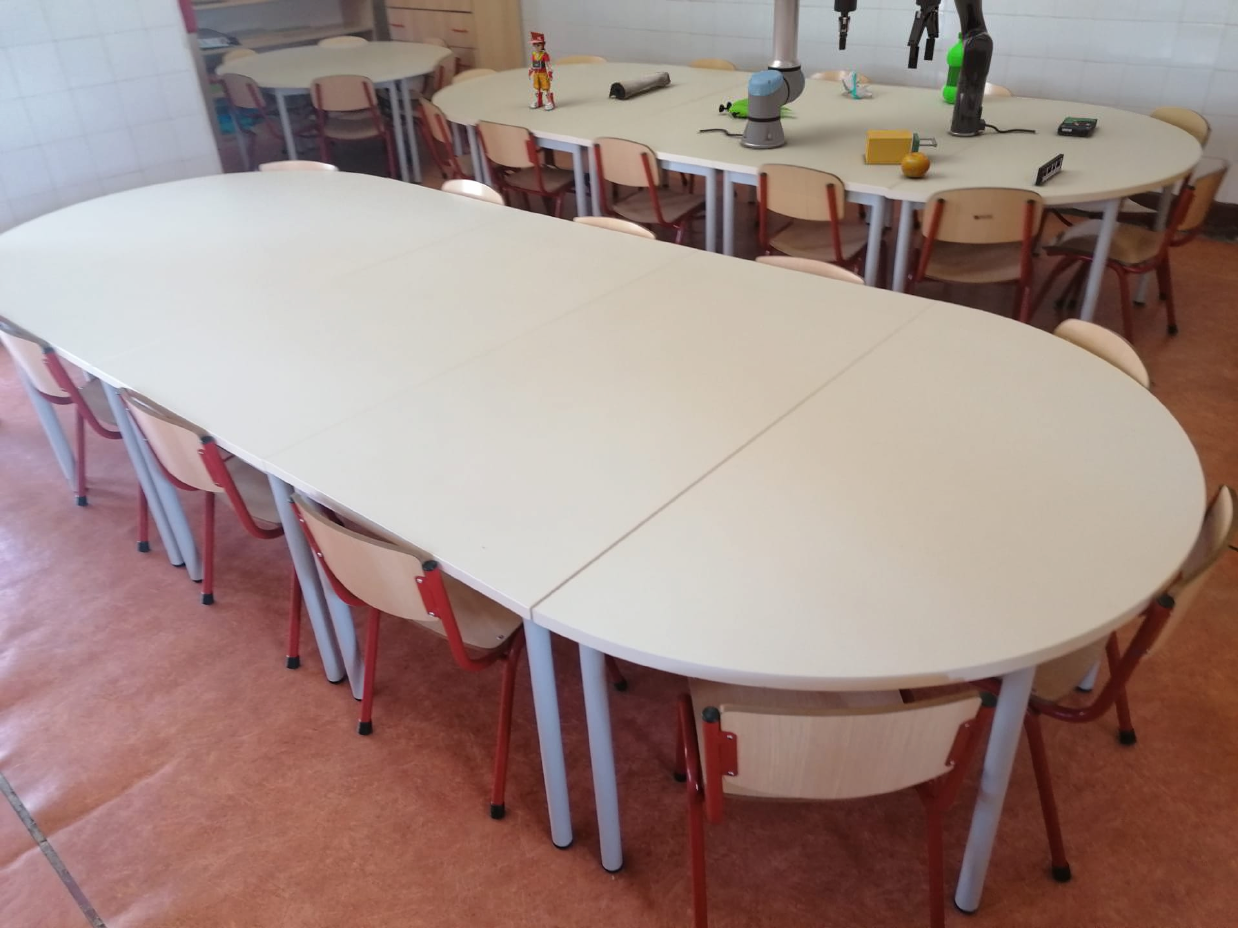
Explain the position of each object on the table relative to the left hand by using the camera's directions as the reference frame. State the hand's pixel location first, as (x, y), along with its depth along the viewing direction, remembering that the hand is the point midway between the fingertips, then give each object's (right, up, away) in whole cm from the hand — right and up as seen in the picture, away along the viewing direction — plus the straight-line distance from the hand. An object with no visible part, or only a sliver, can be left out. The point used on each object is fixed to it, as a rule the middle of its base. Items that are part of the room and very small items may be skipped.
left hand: (920, 64), depth 290 cm
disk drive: (+63, -13, +24) cm, 68 cm away
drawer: (-2, -27, +7) cm, 28 cm away
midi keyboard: (+34, -42, -15) cm, 56 cm away
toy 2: (-42, +9, +65) cm, 78 cm away
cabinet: (-8, -28, +9) cm, 30 cm away
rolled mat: (-88, +35, +107) cm, 143 cm away
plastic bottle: (+35, +14, +65) cm, 75 cm away
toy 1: (-130, +23, +93) cm, 162 cm away
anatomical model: (0, +24, +82) cm, 86 cm away
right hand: (-20, +15, +21) cm, 33 cm away
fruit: (-4, -39, -7) cm, 40 cm away
